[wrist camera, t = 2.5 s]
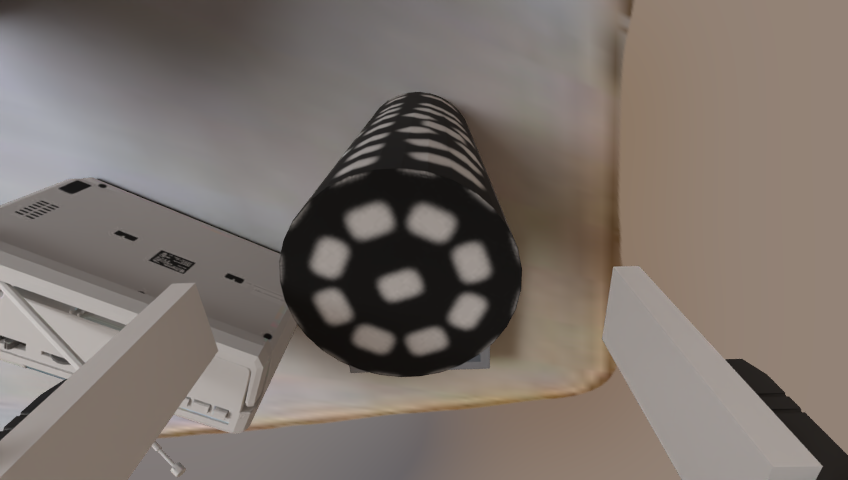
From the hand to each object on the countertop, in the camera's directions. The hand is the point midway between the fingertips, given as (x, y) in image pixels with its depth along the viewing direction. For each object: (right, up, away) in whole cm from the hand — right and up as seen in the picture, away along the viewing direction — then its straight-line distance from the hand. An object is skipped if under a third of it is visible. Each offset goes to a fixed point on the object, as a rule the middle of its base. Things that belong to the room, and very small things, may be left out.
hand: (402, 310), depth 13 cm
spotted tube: (0, +9, +19) cm, 21 cm away
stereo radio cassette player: (-19, +1, +24) cm, 30 cm away
